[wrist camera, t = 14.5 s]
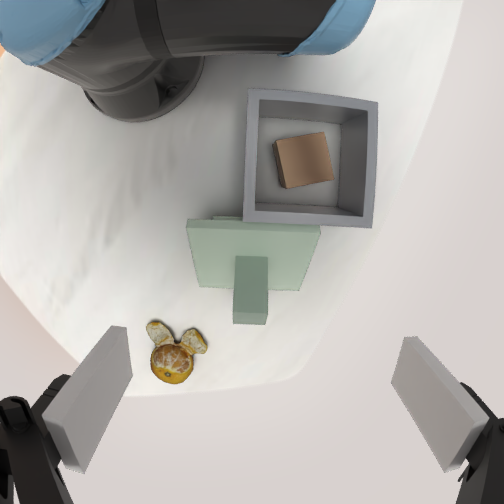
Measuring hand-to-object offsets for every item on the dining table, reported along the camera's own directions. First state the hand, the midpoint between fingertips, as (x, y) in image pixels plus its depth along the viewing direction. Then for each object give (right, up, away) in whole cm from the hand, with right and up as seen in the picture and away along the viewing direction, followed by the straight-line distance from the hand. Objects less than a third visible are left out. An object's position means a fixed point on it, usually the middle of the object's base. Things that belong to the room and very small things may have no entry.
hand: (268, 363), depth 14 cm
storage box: (+5, +15, +22) cm, 27 cm away
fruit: (-11, -4, +28) cm, 31 cm away
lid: (-1, +6, +21) cm, 22 cm away
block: (+5, +15, +22) cm, 27 cm away
